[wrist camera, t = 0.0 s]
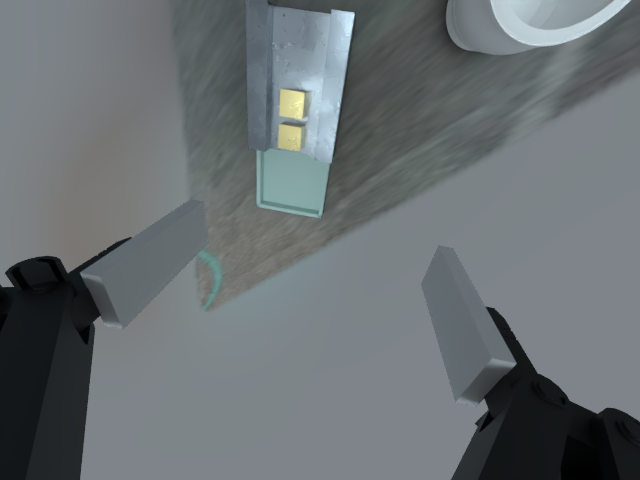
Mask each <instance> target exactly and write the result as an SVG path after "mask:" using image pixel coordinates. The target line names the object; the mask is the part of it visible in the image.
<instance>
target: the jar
mask: <svg viewBox="0 0 640 480" xmlns="http://www.w3.org/2000/svg"><path fill="white" fill-rule="evenodd" d="M630 1H631V0H448V4H447V9H446V25H447V30H448V33H449V35H450V37H451V39H452V40H453V42H454V43H455V44H456V45H457V46H459V47H460V48H462V49H464V50H468V51H478V52H482V53H486V54H491V55H509V54H515V53H520V52H524V51H527V50H530V49H533V48H536V47H544V46H552V45H557V44H562V43H565V42H568V41H571V40H574V39H576V38H578V37H581V36H583V35H585V34H587V33H589V32H590V31H592V30H594V29H595V28H597V27H599V26H600V25H602V24H603V23H604V22H606V21H607V20H609V19H610V18H611V17H613V16H614V15H615V14H616V13H617V12H619V11H620V10H621V9H622V8H623V7H624V6H625V5H626V4H628V3H629V2H630Z"/></svg>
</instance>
